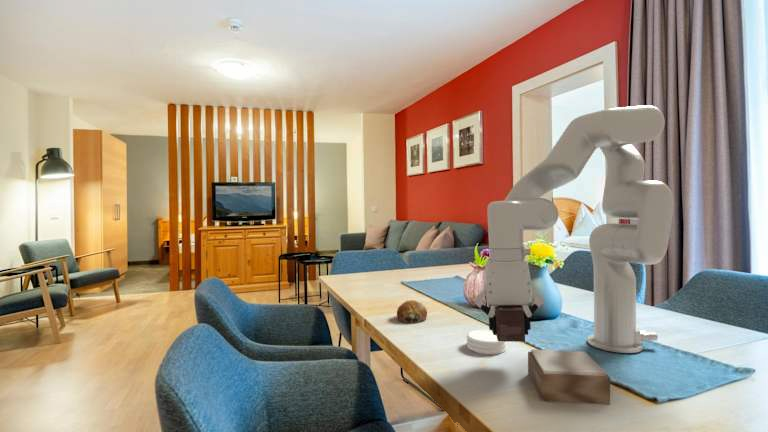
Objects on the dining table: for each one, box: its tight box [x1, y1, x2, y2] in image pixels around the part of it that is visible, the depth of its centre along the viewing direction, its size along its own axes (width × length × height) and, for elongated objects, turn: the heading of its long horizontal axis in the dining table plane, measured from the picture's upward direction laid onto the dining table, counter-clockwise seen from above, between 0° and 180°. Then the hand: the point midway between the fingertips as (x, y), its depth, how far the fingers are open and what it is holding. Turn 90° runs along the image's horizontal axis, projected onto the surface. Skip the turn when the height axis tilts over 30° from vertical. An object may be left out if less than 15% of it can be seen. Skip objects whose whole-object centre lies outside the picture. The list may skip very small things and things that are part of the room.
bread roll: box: [396, 299, 428, 324], centre depth 132 cm, size 10×10×8 cm
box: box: [495, 305, 526, 343], centre depth 92 cm, size 6×6×7 cm
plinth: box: [527, 349, 611, 405], centre depth 81 cm, size 12×12×6 cm
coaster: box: [466, 329, 508, 356], centre depth 104 cm, size 10×10×4 cm
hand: (509, 332), depth 92 cm, fingers closed on box, 6 cm apart
